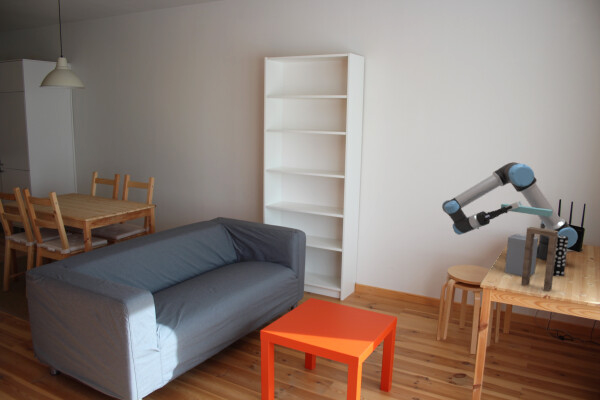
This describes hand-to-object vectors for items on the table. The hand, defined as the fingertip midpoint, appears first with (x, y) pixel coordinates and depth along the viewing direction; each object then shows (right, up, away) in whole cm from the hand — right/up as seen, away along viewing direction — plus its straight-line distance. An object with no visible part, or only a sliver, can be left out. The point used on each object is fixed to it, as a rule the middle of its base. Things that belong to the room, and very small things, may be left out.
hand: (519, 203), depth 241 cm
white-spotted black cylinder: (+20, -37, +3) cm, 42 cm away
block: (+2, -36, +3) cm, 36 cm away
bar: (+2, -5, -2) cm, 5 cm away
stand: (-1, -39, -18) cm, 43 cm away
